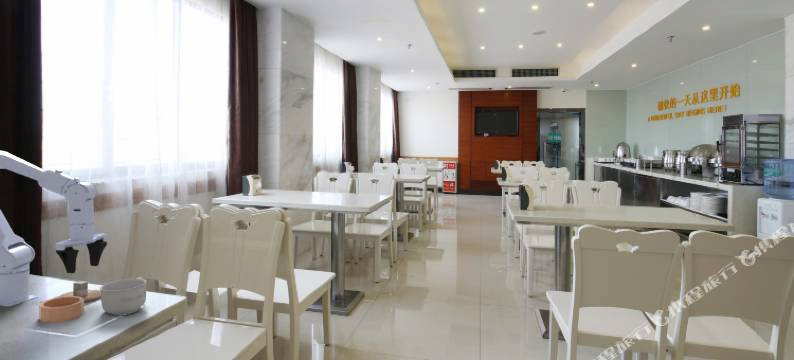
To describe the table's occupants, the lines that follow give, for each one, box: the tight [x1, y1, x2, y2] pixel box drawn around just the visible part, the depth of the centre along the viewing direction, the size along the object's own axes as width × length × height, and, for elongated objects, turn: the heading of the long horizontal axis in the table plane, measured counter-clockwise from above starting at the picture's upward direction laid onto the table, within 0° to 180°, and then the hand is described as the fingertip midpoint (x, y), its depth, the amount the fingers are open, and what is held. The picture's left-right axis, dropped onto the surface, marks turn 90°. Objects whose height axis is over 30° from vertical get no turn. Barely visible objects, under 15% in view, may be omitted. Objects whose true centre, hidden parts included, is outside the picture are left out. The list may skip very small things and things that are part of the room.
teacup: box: [99, 276, 148, 316], centre depth 117 cm, size 14×11×8 cm
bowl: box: [38, 296, 85, 323], centre depth 110 cm, size 9×9×4 cm
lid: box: [56, 280, 101, 303], centre depth 123 cm, size 11×11×5 cm
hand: (83, 269), depth 123 cm, fingers open, 7 cm apart
